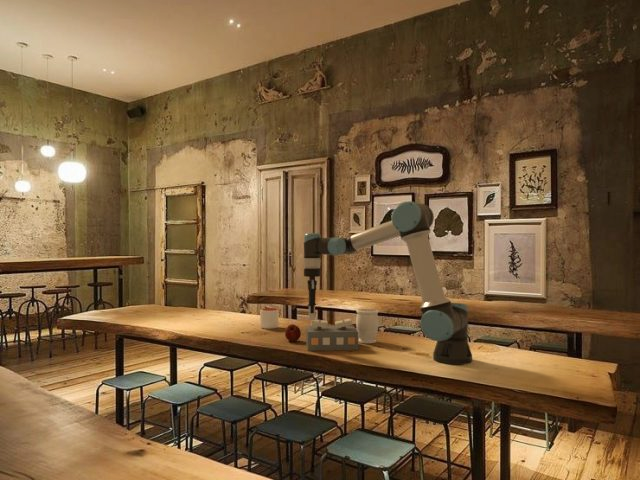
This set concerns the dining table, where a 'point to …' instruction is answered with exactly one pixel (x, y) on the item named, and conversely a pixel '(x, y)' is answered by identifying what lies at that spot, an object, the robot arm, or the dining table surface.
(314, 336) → the console
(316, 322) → the switch
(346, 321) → the switch
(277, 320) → the cup
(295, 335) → the apple
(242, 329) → the dining table surface
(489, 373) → the dining table surface
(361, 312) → the jar
